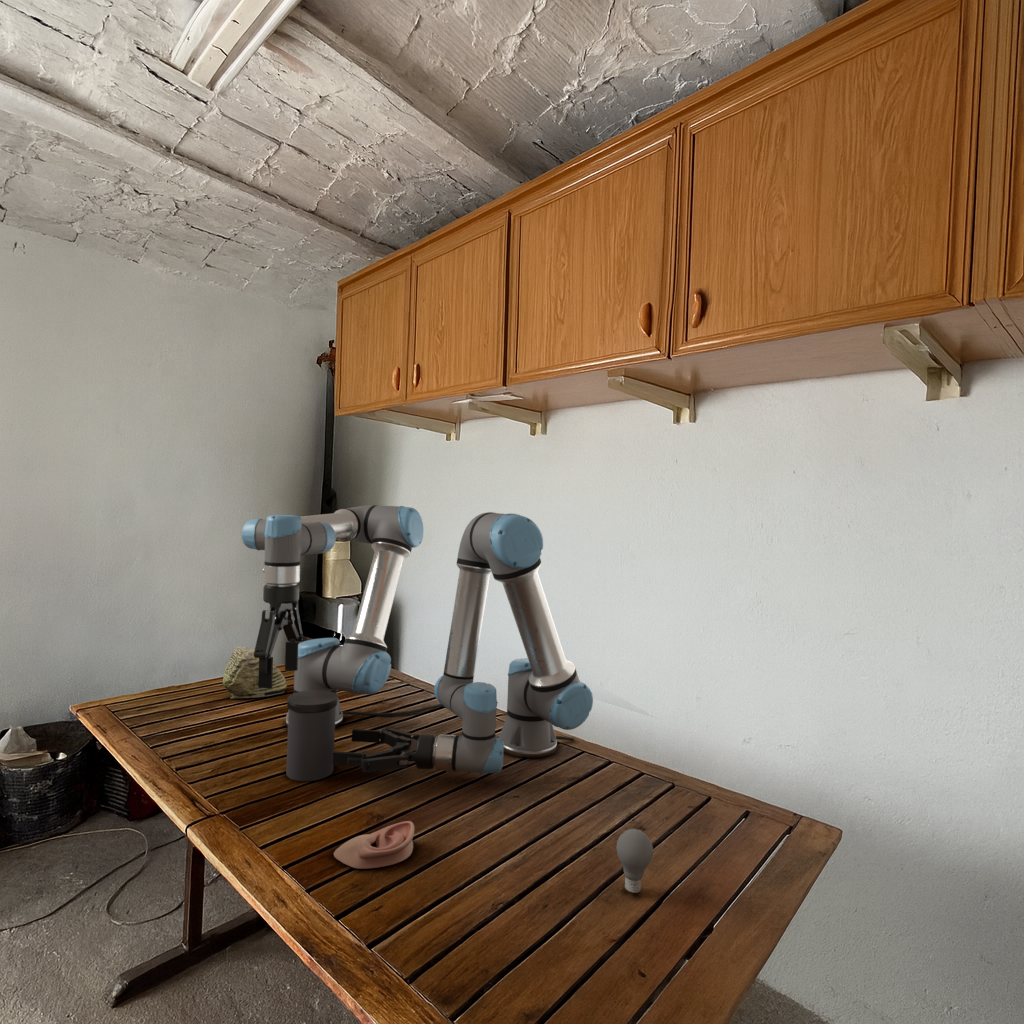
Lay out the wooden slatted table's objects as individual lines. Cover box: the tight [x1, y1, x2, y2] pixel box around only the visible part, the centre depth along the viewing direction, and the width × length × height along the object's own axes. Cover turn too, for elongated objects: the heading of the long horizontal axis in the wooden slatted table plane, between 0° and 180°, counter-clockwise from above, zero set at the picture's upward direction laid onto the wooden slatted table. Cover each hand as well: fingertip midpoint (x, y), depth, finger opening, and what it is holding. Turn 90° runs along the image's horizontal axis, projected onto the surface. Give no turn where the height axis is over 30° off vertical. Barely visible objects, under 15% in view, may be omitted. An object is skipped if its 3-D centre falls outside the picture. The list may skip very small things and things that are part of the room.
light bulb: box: [615, 828, 654, 894], centre depth 106 cm, size 6×6×10 cm
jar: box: [285, 706, 336, 782], centre depth 146 cm, size 10×10×17 cm
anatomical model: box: [333, 820, 415, 870], centre depth 114 cm, size 13×4×12 cm
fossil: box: [222, 646, 288, 699], centre depth 198 cm, size 9×18×15 cm, turn 132°
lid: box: [286, 690, 339, 713], centre depth 145 cm, size 11×11×2 cm
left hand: (278, 678), depth 142 cm, fingers open, 13 cm apart
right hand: (343, 746), depth 145 cm, fingers open, 13 cm apart
